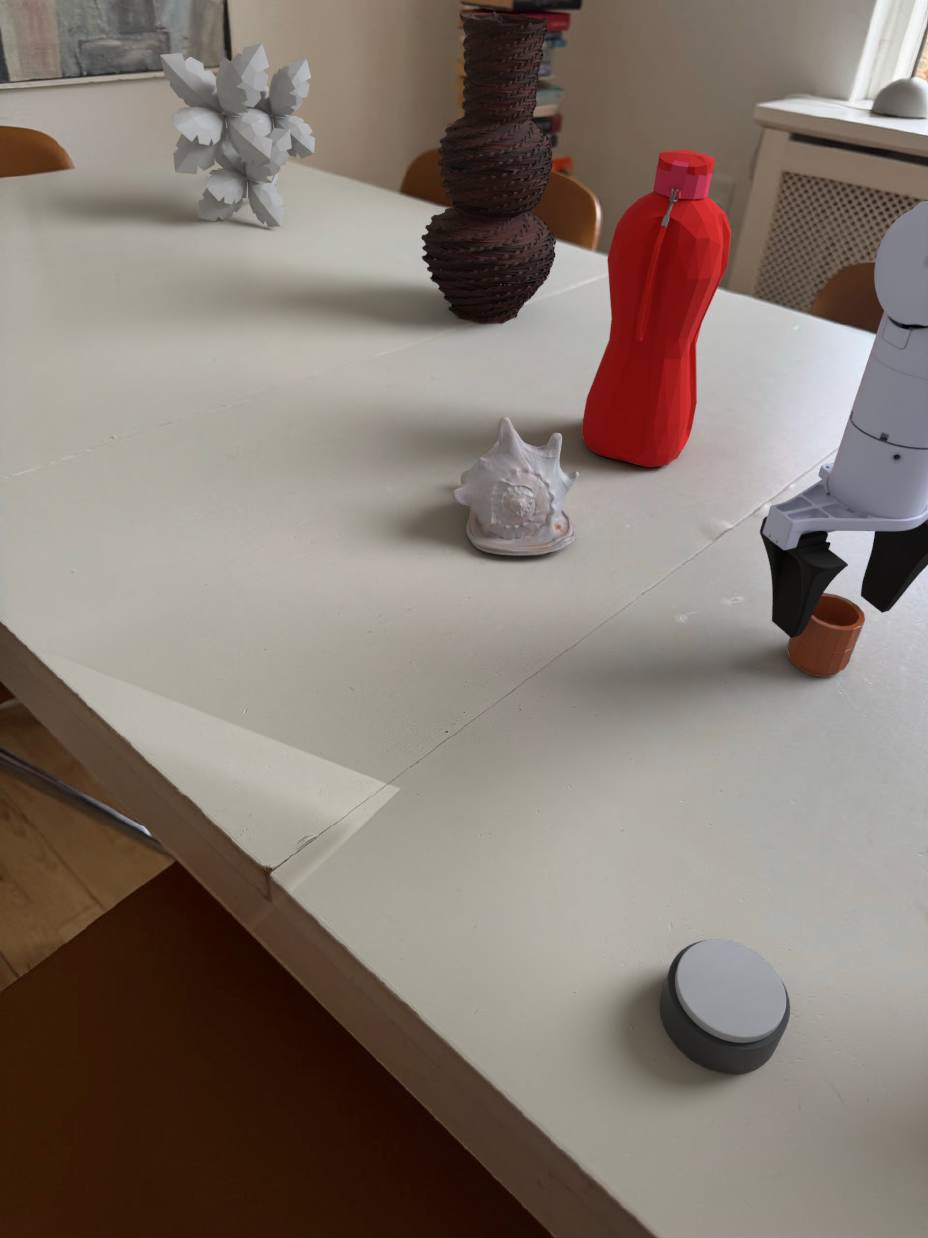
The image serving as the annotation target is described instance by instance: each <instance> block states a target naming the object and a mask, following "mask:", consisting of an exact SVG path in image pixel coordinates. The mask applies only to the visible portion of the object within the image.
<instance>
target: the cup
mask: <svg viewBox="0 0 928 1238" xmlns="http://www.w3.org/2000/svg"><path fill="white" fill-rule="evenodd" d="M865 622H866V617H865V613H864V611H863V610H862V609H861V607H860V606H859V605H858V604H856V603H855V602H853V601H852V600H850V599H849V598H847V597H843V596H841V595H838V594H834V593H828V592H824V593H823V594H822V596H821V597H820V599H819V601H818V603H817V605H816V607H815V610H814V612H813V614H812V616H811V619H810V621H809V623H808V625H807V627H806V628H805V630H804V631H803V632H802V634H801V635H800V636H797V637H793V638H792V637H789V638H788V641H787V643H786V644H787V653H788V657H789V660H790V662H791V663H792V664H793V666H795V667H796V668H797V669H799V670H800V671H802V672H804V673H806V674H808V675H812V676H816V677H823V678H825V677H833V676H836V675H838V674H839V673H840V672H841V671H844V670H845V669H846V668H847V666H848V664H849V663H850V661H851V657H852V655H853V652H854V650H855V647H856V645H857V642H858V641H859V637H860V635H861V633H862V630H863V627H864V625H865Z"/></svg>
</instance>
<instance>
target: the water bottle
mask: <svg viewBox="0 0 928 1238" xmlns="http://www.w3.org/2000/svg"><path fill="white" fill-rule="evenodd" d="M715 164H716V160H715V158H714V157H712V156H711V155H709V154H705V153H702V152H697V151H693V150H690V149H675V150H674V149H673V150H664V151H662V152H659V154H658V160H657V166H656V171H655V176H654V183H653V189H652V190H653V191H651V192H649V193H647V194H645V195H643V196H641V197H640V198H638V199H636V200H635V202H634V203H632V204H631V205H630V206H629V207H628V208H626V210H625V212H624V213H623V214H622V216H621V217H620V219H619V220H618V222H617V223H616V225H615V229H614V233H613V236H612V240H611V244H610V248H609V252H608V255H607V258H606V259H607V273H608V287H609V302H610V313H611V314H610V315H611V320H610V329H609V338H608V342H607V344H606V347H605V349H604V352H603V355H602V357H601V360H600V362H599V365H598V367H597V371H596V373H595V376H594V378H593V381H592V383H591V386H590V388H589V391H588V394H587V396H586V399H585V406H584V410H583V411H584V412H583V418H582V427H581V433H582V439H583V440H582V441H583V443H584V444H585V445H586V446H587V447H588V449H589V450H591V451H592V452H593V453H594V454H596V455H597V456H601V457H605V458H609V459H612V460H613V459H614V460H618V461H622V462H626V463H630V464H632V465H635V466H636V465H637V466H640V467H644V468H648V469H649V468H655V467H657V468H658V467H665V466H667V465H669V464H670V463H671V462H673V461H675V460H677V459H678V458H679V457H680V456H681V455H680V454H681V453H682V452H683V450H684V448H685V447H686V445H687V443H688V442H689V438H690V435H691V433H692V430H693V424H694V419H695V414H696V409H697V403H698V395H697V394H698V390H697V387H698V386H697V385H698V383H697V380H698V379H697V375H698V373H697V372H698V371H697V343H698V339H699V335H700V332H701V328H702V323H703V321H704V319H705V317H706V315H707V312H708V310H709V308H710V305H711V303H712V301H713V299H714V297H715V294H716V292H717V289H718V288H719V286H720V283H721V281H722V279H723V277H724V274H725V273H726V269H727V268H728V263H729V254H730V248H731V247H730V246H731V239H732V229H731V226H730V223H729V219H728V215H727V213H726V212H725V211H724V210H723V209H722V208H721V207H720V206H719V205H718V204H717V203H716V202H714V200H712V199H711V198H710V197H709V192H710V186H711V182H712V178H713V174H714V170H715Z"/></svg>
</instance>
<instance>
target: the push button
mask: <svg viewBox="0 0 928 1238" xmlns="http://www.w3.org/2000/svg"><path fill="white" fill-rule="evenodd" d="M659 998H660V999H659V1012H660V1018H661V1021H662V1024H663V1027H664V1029H665V1031H666V1033H667V1034H668V1037H669V1039H670V1040H671V1041H672V1043H673V1044H674V1045H675V1046H676V1048H678V1050H679V1051H680V1052H682V1054H683V1055H685V1056H686V1057H687V1058H688V1059H690V1060H691V1061H693V1062H694V1063H696V1064H698V1065H699V1066H701V1067H704V1068H705V1069H708V1070H710V1071H714V1072H716V1073H723V1074H731V1075H737V1074H745V1073H750V1072H753V1071H755V1070H758V1068H761V1067H762V1066H764V1065H765V1064H766V1063H767V1062H769V1060H770V1059H771V1058H772V1056H773V1055H774V1053H775V1051H776V1049H777V1047H778V1046H779V1044H780V1042H781V1039H782V1037H783V1036H784V1033H785V1031H786V1029H787V1027H788V1024H789V1022H790V1017H791V1002H790V997H789V993H788V990H787V988H786V986H785V983H784V981H783V980H782V978H781V976H780V974H779V973H778V972H777V970H776V968H775V967H774V966H773V965H772V964H771V963H770V962H769V961H768V959H766V957H764V956H763V955H762V954H760V953H759V952H758V951H757V950H755V949H753V948H751V947H750V946H748V945H746V944H743V943H741V942H739V941H735V940H730V939H725V938H723V939H722V938H715V939H714V938H712V939H711V938H710V939H704V940H699V941H696V942H693V943H691V944H689V945H687V946H686V947H684V948H683V949H681V950H680V951H679V952H678V953H677V954H676V956H674V958H673V959H672V962H671V964H670V966H669V968H668V972H667V974H666V978H665V981H664V984H663V986H662V990H661V994H660V997H659Z"/></svg>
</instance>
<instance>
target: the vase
mask: <svg viewBox="0 0 928 1238" xmlns="http://www.w3.org/2000/svg"><path fill="white" fill-rule="evenodd" d="M459 18H460V20H461V21H462V22H463V24H462V28H463V32H464V34H465V37H464V38H463V40H462V47H464V52H463V60H464V64H463V71H464V73H465V75H466V76H465V77H464V78H463V80H462V83H463V87H464V88H463V90H462V96H463V98H464V100H463V102H462V103H461V107H462V110H463V111H464V114H463V116H462V117H460V118H458V119H456V120H455V121H454V122H453V124H452V125H450V126H449V125H448V126H447V127H446V128H445V130H444V132H445V136H444V137H442V138H440V139H439V144H440V145H441V146H440V147H439V148H437V153H438V154H439V155H440V156H441V157H442V158H441V159H440V160H437V165H438V166H439V167H440V168H441V170H439V171H438V173H439V175H440V177H442V178H443V182H440V187H442V188H443V189H444V190H445V191H446V192H445V197H446V198H447V199H449V200H450V201H452V204H451V205H452V207H448V208H445V209H444V211H443V212H442V213H440V214H433V215H431V217H430V220H431V221H430V223H429V224H426V225H425V228H424V229H425V230H426V231H427V233H425V234H421V237H420V238H421V240H422V241H423V242H424V243H425V244H424V245H423V246H422V247H421V249H422V251H424V252H426V254H425V255H422V256H421V259H422V261H423V262H424V263H426V264H427V265H428V266H427V267H426V269H427V270H426V271H428V272H429V273H431V276H429V279H430V280H431V282H433V283H434V284H436V285H438V287H437V289H438V291H439V292H441V293H442V294H443V295H444V296H443V299H444V300H445V301H447V302H448V303H450V304H451V305H450V306H448V311H450V312H451V313H452V314H453V315H454V316H456V317H457V319H460V320H464V321H468V322H474V323H478V324H496V323H501V324H504V323H505V322H507V321H510V320H511V319H514V318H515V319H516V318H517V317H518V314H519V313H520V310H521V309H522V308H523V307H524V306H525V303H526V302H528V301H529V300H531V299H532V297H533V296H535V294H536V293H537V292H538V290H539V289H540V288H541V286H543V285H544V283H545V282H546V281H547V280H548V277H549V275H550V273H551V269H552V267H553V265H554V261H555V258H556V252H555V249H556V247H555V246H556V244H557V240H556V238H555V234H554V232H552V230H551V228H550V226H549V225H548V224H547V223H546V221H544V219H542V218H541V217H540V216H538V215H537V214H534V213H533V212H531V211H532V210H533V209H534V208H536V207H537V206H538V205H539V204H540V202H541V201H542V195H543V194H544V193H545V191H546V189H547V185H548V184H549V181H550V180H549V177H550V173H551V171H552V169H553V150H552V148H553V145H552V141H551V139H550V137H549V136H548V134H546V133H544V131H543V130H542V129H541V127H540V126H539V125H538V124H537V123H536V122H535V121H534V113H535V110H536V107H537V102H538V101H537V94H538V93H537V91H538V90H537V87H538V85H539V81H540V78H539V72H540V70H541V64H542V62H543V60H544V52H543V50H542V49H543V47H544V43H545V36H546V35H547V32H548V25H549V21H547V17H542V18H539V17H534V16H528V15H526V14H525V13H521V14H520V15H517V14H506V13H497V12H496V11H492V12H490V13H488V12H487V13H486V12H485V13H484V12H472V11H469V12H468V13H464V14H462V13H459Z"/></svg>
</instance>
